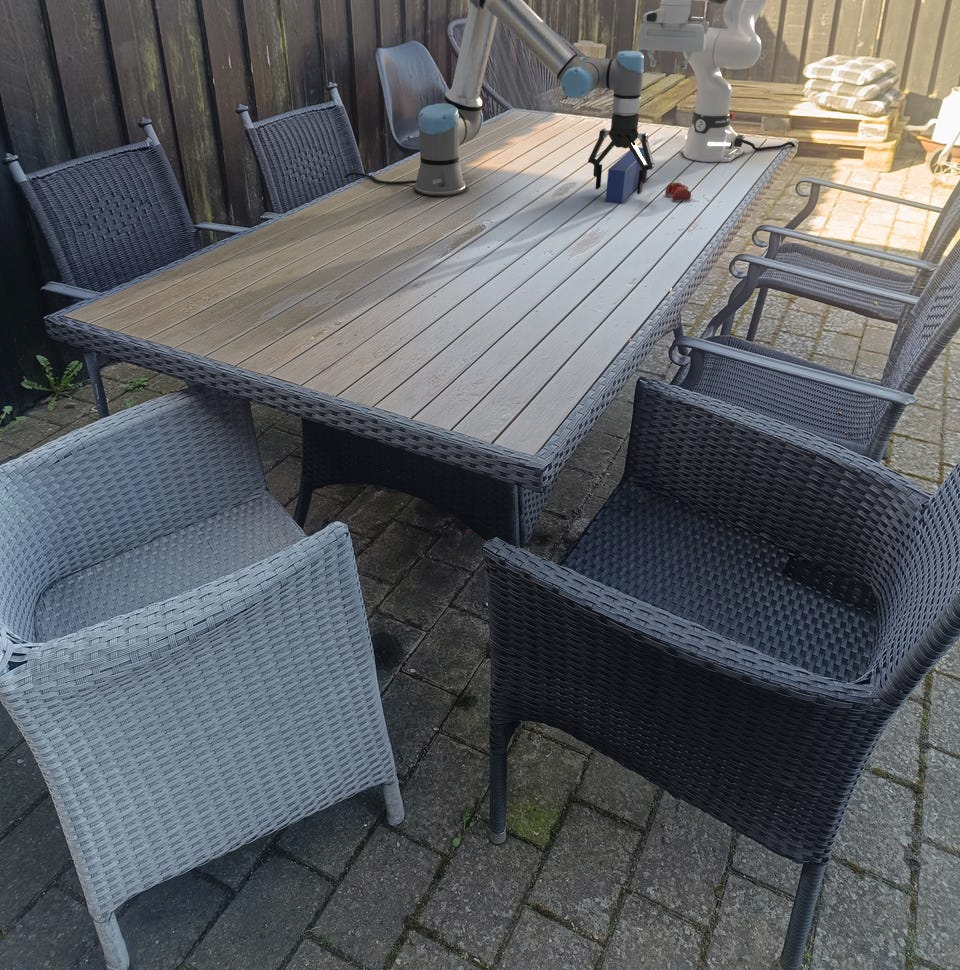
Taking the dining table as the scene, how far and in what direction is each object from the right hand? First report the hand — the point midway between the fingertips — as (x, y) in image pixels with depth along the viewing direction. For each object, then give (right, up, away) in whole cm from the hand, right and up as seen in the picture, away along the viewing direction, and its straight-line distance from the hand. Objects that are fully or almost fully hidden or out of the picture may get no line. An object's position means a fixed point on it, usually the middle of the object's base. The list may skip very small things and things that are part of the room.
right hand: (668, 67), depth 254 cm
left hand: (-16, -39, -4) cm, 42 cm away
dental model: (+2, -40, -3) cm, 41 cm away
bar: (-12, -35, +4) cm, 38 cm away
